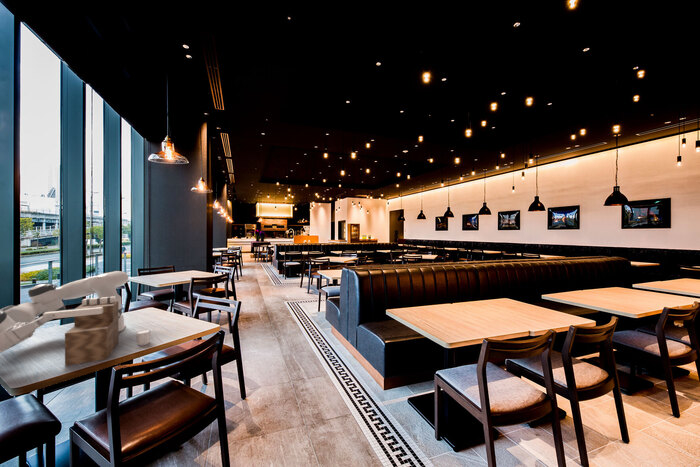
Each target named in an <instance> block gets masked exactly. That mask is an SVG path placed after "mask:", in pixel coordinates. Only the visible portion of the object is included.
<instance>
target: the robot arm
mask: <svg viewBox="0 0 700 467" xmlns="http://www.w3.org/2000/svg"><path fill="white" fill-rule="evenodd" d="M128 281H129V275H128V273H127V272H126V271H123V270H122V271H120V270H114V271H110V272H103V273H100V274H98V275H94V276H89V277H85V278H81V279H78V280H77V279H76V280H74V281H71V282H68V283H65V284H62V285H61V286H59V287H58V285H57V284H51V283H40V284H37V285H34V286H33V287H32V288H30V289H28V292H27V293H28V296H29V297H30V300H31V301H29V302H28V301H26V302H23V303H20V304H17V305H13V304H11V305H8V306H5V307H2V308H0V354H1V353H3V352H5V351H7V350H9V349H11V348H13V347H15V346H16V345H18V344H20V343H23V342H24V341H26V340H28V339H30V338H31V337H33V335H34V333H35V332H36V330H37V329H39V328H40V327H42V326H43V325H45V324H47V323H48V322H50V321H52V319H51V318H53V317H54V314H50V315H49V316H46V317H44V318H43V314H44V313H45V312H53V311H63V310H66V305H65V304H64V302H63V300H67V301H68V300H74V299H79V298H83V297H86V296H90V295H94V294H96V295H97V298H100V297H101V298H102V297H114V296H116V301H118V333H120V332H122V331H124V330H125V328H126V327H127V324H125V319H124V318H125V317H124V315H123V308H122V297H121V295H119V294H118V291H117V288H119V287H122V286H123V285H125V284H126V283H127V282H128Z"/></svg>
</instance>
